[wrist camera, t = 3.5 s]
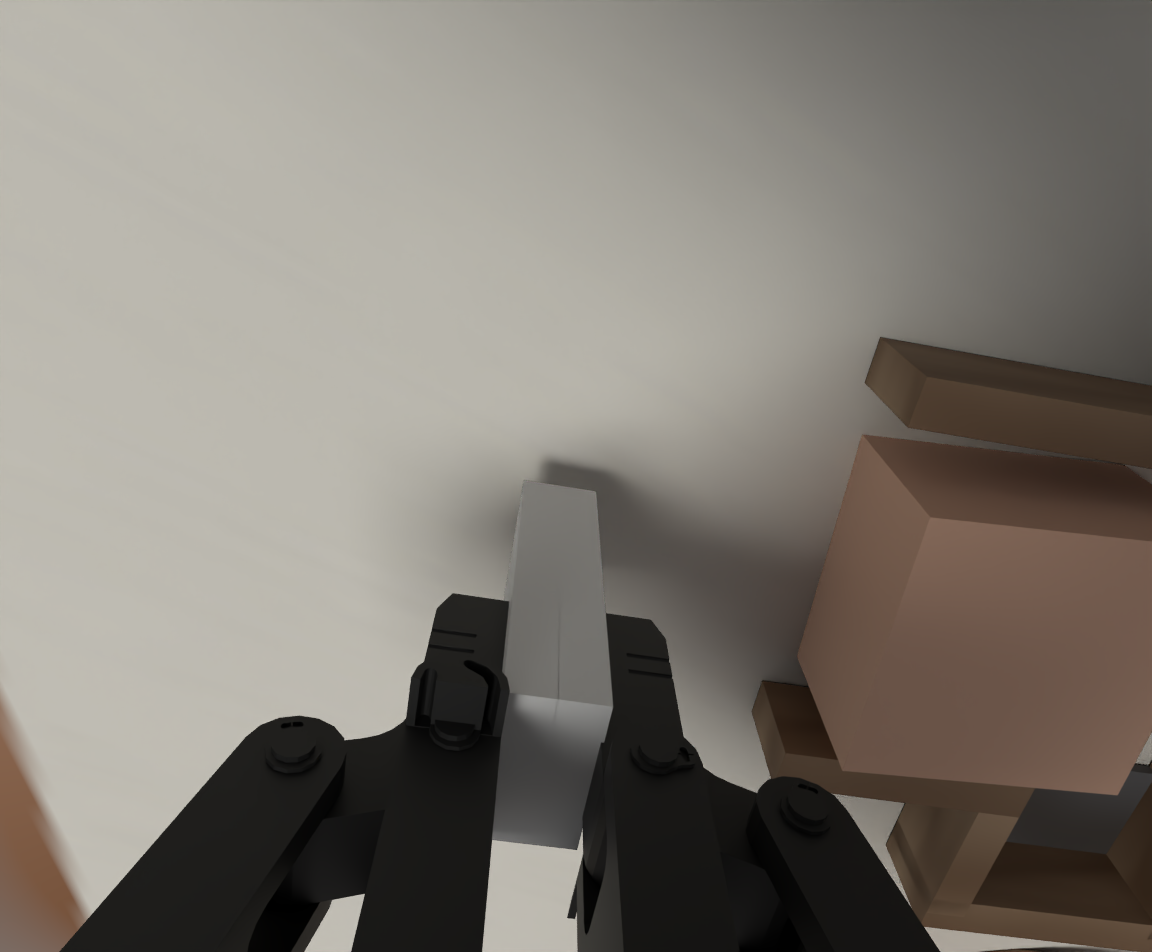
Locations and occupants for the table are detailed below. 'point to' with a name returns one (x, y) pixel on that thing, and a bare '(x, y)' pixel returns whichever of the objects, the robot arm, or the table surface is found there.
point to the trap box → (988, 811)
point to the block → (986, 618)
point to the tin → (1013, 950)
